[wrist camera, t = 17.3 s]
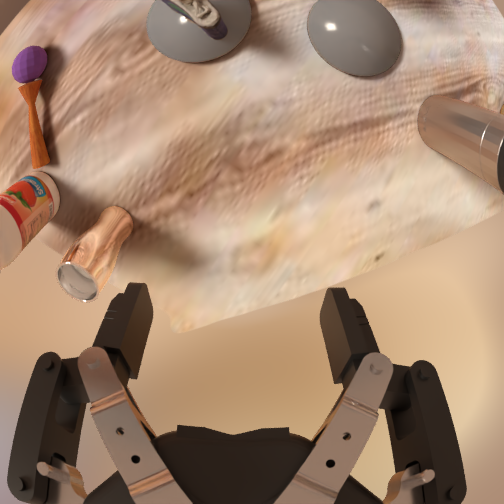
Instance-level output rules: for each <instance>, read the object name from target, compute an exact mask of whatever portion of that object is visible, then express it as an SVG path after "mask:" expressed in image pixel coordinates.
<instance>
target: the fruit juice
mask: <svg viewBox="0 0 504 504" xmlns="http://www.w3.org/2000/svg"><path fill="white" fill-rule="evenodd" d="M59 204H60V196H59V191H58V189H57V186H56V184H55V183H54V181H53V180H52V179H51V177H50V176H48V175H47V174H45V173H43V172H39V171H36V172H32V173H30V174H28V175H26V176H25V177H24V178H22V179H21V180H19V181H18V182H16V183H15V184H14V185H12V186H11V187H10V188H8V189H7V190H6V191H4V192H3V193H2V194H0V272H1V270H2V269H3V268H5V267H7V266H8V265H10V264H11V263H12V262H13V261H14V260H15V259H16V258H17V256H18V255H19V254H20V253H21V251H22V250H23V249H24V248H25V247H26V246H27V244H28V243H29V242H30V241H31V240H32V239H33V238H34V237H35V236H36V235H37V234H38V233H39V231H40V230H41V229H42V228H43V227H44V226H45V225H46V224H47V223H48V222H49V221H50V220H51V219H52V218H53V217H54V216H55V214H56V213H57V211H58V208H59Z"/></svg>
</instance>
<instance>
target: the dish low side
mask: <svg viewBox="0 0 504 504" xmlns="http://www.w3.org/2000/svg"><path fill="white" fill-rule="evenodd" d="M209 1H210V2H211V3H212V4H213V5H214V6H215V8H216V9H217V10H218V11H219V12H220V15H221V17H222V20H223V22H224V24H225V25H226V27H227V29H228V33H227V36H225V37H224V38H222V40H214V39H212V38H211V37H209V36H208V35H207V34H206V33H205V32H204V31H203V30H202V29H201V28H198V25H197V24H194V23H191V22H189V21H188V20H187V19H185V17H184V16H183V15H181V14H179V13H178V14H177V13H176V12H175V11H173V10H172V9H170V7H169V6H167V5H166V4H165V3H164V2H163V1H162V0H155V1H154V3H153V5H152V6H151V8H150V11H149V13H148V17H147V33H148V36H149V39H150V41H151V42H152V44H153V45H154V47H155V48H156V49H157V50H158V51H159V52H161V53H162V54H164V55H165V56H167V57H169V58H172V59H175V60H178V61H182V62H190V63H198V62H205V61H210V60H213V59H216V58H219V57H221V56H223V55H225V54H227V53H228V52H230V51H231V50H233V49H234V48H235V47H236V46H237V45H238V44H239V43H240V42H241V41H242V40H243V38H244V37H245V35H246V34H247V31H248V29H249V26H250V23H251V6H250V3H249V0H209Z"/></svg>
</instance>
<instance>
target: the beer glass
mask: <svg viewBox="0 0 504 504" xmlns="http://www.w3.org/2000/svg"><path fill="white" fill-rule="evenodd" d="M132 230H133V221H132V218H131V216H130V215H129V213H128V212H127V211H126V210H124V209H123V208H121V207H118V206H110V207H107V208H106V209H104V210H103V212H102V213H101V215H100V217H99V220H98V221H97V223H96V224H95V225H94V226H92V227H91V228H90V229H88V230H87V231H86V232H84V233H83V234H82V235H81V236H80V237H79V238H77V239H76V240H75V242H74V243H73V244H72V245H71V246H70V248H69V249H68V251H67V252H66V254H65V255H64V257H63V258H62V260H61V262H60V264H59V265H58V267H57V268H56V279H57V281H58V283H59V285H60V287H61V288H62V289H63V290H64V291H65V292H66V293H67V294H68V295H69V296H71V297H72V298H74V299H76V300H78V301H81V302H92V301H94V300H96V299H97V297H98V295H99V293H100V292H101V290H102V289H103V287H104V286H105V284H106V283H107V281H108V279H109V277H110V275H111V273H112V271H113V269H114V266H115V264H116V261H117V257H118V254H119V250H120V247H121V245H122V243H123V241H124V240H125V239H126V238H127V237H128V236H129V235H130V234H131V233H132Z"/></svg>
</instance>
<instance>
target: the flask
mask: <svg viewBox="0 0 504 504" xmlns="http://www.w3.org/2000/svg"><path fill="white" fill-rule="evenodd" d="M162 1H163V2H164V3H165V4H166V5H167V6H169V7H170V9H172V10H173V11H175V12H176V13H177V14H178V13H179V14H181V15H183V16H184V17H185V19H187V20H188V21H189V22H191V23H194V24H197V25H198V28H201V29H202V30H203V31H204V32H205V33H206V34H207V35H208V36H209V37H211V38H212V39H214V40H222V38H224V37H225V36H227V33H228V29H227V27H226V25H225V24H224V22H223V20H222V17H221V15H220V12H219V11H218V10H217V9H216V8H215V6H214V5H213V4H212V3H211V2H210V1H209V0H162Z"/></svg>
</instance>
